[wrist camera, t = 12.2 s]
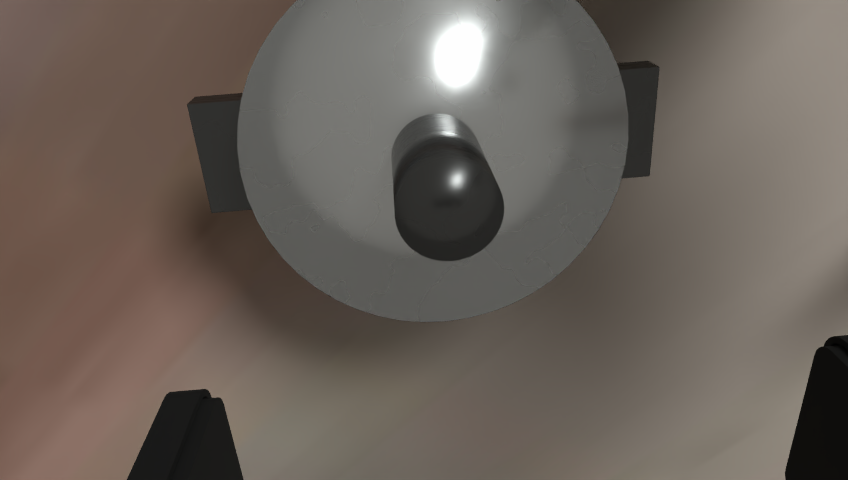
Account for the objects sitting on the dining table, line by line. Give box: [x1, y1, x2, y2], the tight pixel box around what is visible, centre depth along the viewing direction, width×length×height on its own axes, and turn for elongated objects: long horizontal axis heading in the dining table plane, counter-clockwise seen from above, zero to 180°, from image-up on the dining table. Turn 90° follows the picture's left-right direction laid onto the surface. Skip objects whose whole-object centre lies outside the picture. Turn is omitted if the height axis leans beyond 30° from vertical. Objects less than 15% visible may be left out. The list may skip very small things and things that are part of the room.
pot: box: [187, 61, 659, 213], centre depth 28 cm, size 18×13×9 cm
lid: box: [237, 0, 628, 322], centre depth 22 cm, size 14×14×6 cm
